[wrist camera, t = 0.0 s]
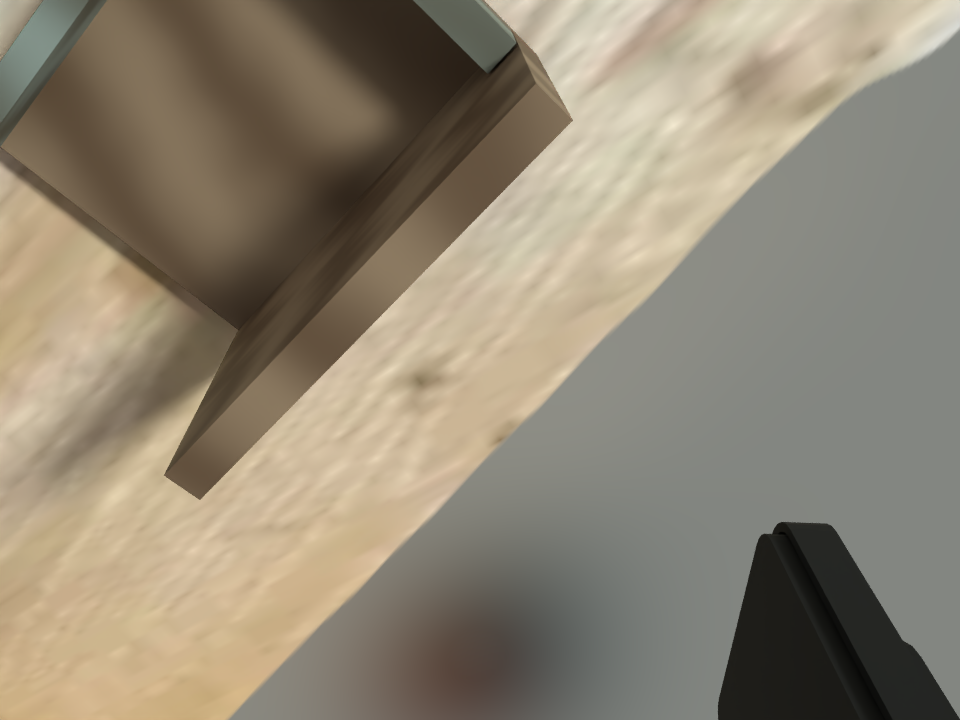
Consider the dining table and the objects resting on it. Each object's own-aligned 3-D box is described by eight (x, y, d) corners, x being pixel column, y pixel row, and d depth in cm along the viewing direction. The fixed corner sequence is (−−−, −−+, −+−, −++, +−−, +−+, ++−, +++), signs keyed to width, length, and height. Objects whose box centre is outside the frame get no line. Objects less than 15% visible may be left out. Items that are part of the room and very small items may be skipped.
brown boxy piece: (245, -244, 33) (131, -326, 21) (536, 54, 38) (572, 120, 26) (-15, 121, 39) (-218, 214, 27) (268, 340, 43) (200, 499, 32)
